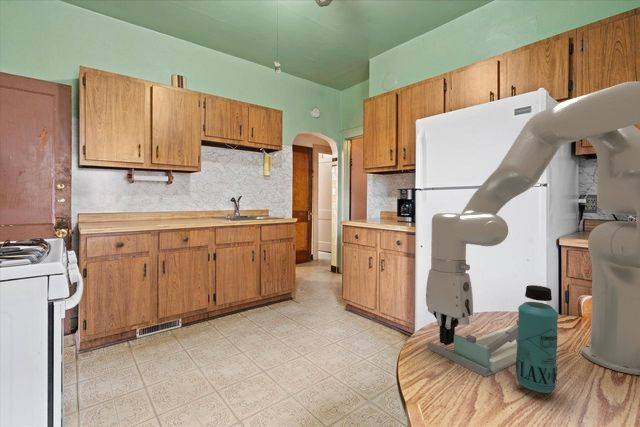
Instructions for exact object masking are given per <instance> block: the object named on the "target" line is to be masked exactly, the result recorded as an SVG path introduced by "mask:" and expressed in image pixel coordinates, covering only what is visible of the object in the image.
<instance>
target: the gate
mask: <svg viewBox="0 0 640 427" xmlns="http://www.w3.org/2000/svg"><path fill="white" fill-rule="evenodd" d="M476 338H477V337H476V336H473V335H471V334H468V335H466V336H465V337H464V336H461V335H460V334H456V333H455V335H454V343H453V353H455V354H457V355H459V356H462V357H464V358H466V359H468V360H470V361H472V362H474V363H476V364H478V365H481V366H483V367H485V368H487V369H488V372H489V360H490V348H488V347H486V346H484V345H481V344H479V343H476Z"/></svg>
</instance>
